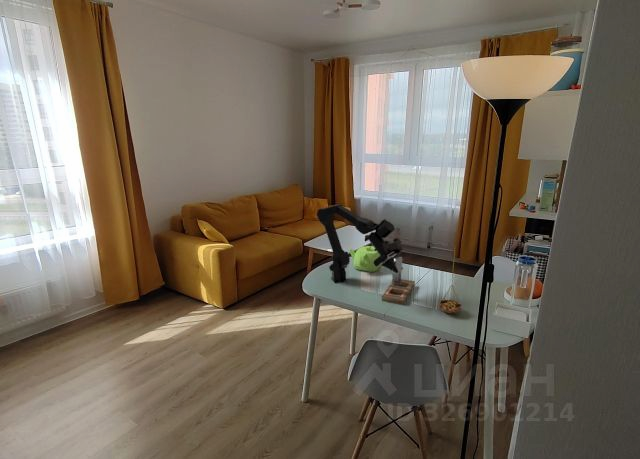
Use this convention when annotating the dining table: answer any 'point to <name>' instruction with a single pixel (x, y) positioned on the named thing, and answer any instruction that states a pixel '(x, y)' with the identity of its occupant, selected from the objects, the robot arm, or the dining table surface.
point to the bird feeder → (450, 301)
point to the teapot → (365, 258)
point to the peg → (397, 276)
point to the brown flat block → (398, 292)
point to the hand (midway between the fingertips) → (399, 271)
